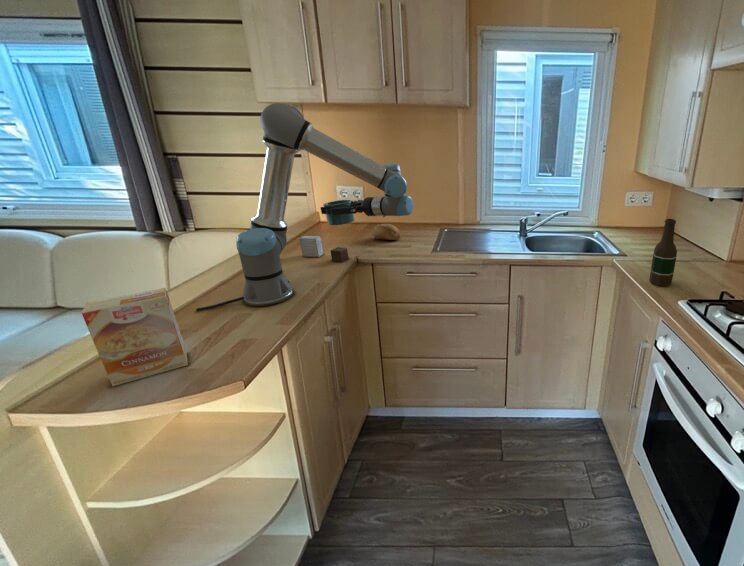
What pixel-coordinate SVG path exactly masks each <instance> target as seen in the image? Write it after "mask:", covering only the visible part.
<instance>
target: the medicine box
mask: <svg viewBox="0 0 744 566" xmlns="http://www.w3.org/2000/svg"><path fill="white" fill-rule="evenodd" d="M298 239H299V244H300V250H301V255H302V257H303V258H304V257H307V258H308V257H309V258H311V257H312V258H320V257H321V256H323V255H324V250H323V245H322V238H321V236H320V235H303V236H301V237H300V238H298Z"/></svg>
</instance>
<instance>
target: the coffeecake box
mask: <svg viewBox="0 0 744 566" xmlns="http://www.w3.org/2000/svg"><path fill="white" fill-rule="evenodd" d="M81 315H82V318H83V320H84V322H85V325H86V327H87V330H88V333H89V335H90V337H91V340H92V342H93V344H94V347H95V349H96V351H97V355H98V356H99V359H100V361H101V363H102V365H103V367H104V370H105V372H106V375H107V377H108V379H109V382H110V384H111V386H112V387H115V386H116V387H117V386H119V385H123V384H126V383H130V382H134V381H136V380H141V379H144V378H147V377H151V376H155V375H158V374H161V373H165V372H168V371H172V370H175V369H180V368H182V367H186V366H188V352H187V348H186V346H185V343H184V339H183V336H182V334H181V330H180V327H179V324H178V321H177V318H176V315H175V312H174V308H173V306H172V303H171V300H170V297H169V294H168V290H167V288H166V287H162V288H161V287H160V288H157V289H152V290H147V291H142V292H135V293H130V294H124V295H121V296H114V297H110V298H104V299H99V300H93V301H88V302H86V303H85V305H84V308H82V311H81Z"/></svg>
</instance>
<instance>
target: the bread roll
mask: <svg viewBox="0 0 744 566" xmlns="http://www.w3.org/2000/svg"><path fill="white" fill-rule="evenodd" d="M372 235H373V238H374V239H376V240H389V241H390V240H391V241H398V240H400V239H401V237H402V234H401V231H400V229H399V228H398V227H397V226H395V225H393V224H390V223H382V224H378V225H376V226H375V228H374V229H373V234H372Z"/></svg>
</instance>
